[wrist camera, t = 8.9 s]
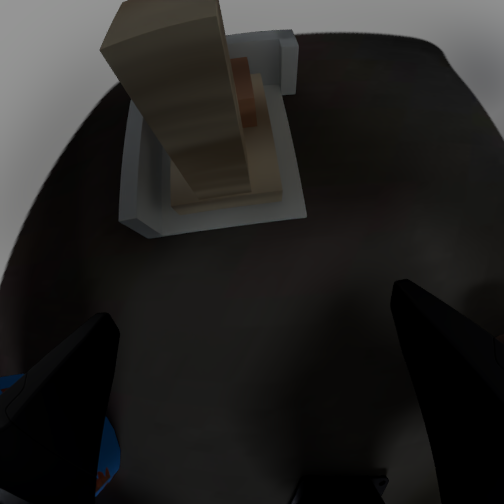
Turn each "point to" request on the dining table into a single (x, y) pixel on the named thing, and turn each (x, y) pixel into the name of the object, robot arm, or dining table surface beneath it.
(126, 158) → the bay
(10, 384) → the thermos
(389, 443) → the dining table surface
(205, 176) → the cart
